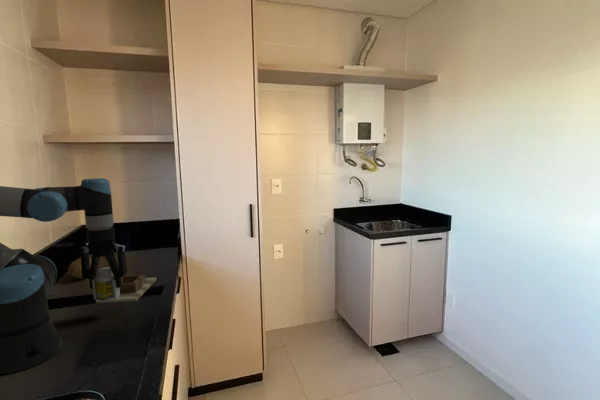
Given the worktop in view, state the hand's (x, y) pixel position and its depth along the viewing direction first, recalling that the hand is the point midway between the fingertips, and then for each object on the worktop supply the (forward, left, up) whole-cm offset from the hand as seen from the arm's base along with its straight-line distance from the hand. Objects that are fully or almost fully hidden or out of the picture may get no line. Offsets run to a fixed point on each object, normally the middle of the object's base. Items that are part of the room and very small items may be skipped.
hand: (107, 297), depth 106 cm
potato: (+38, +30, -7) cm, 49 cm away
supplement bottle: (0, 0, -1) cm, 1 cm away
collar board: (+20, +3, -7) cm, 21 cm away
